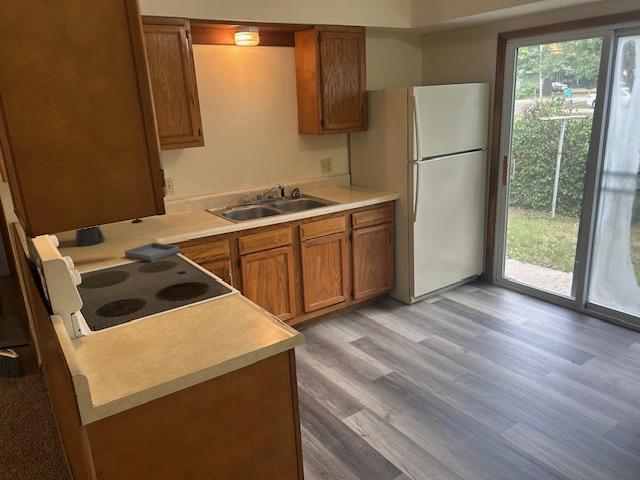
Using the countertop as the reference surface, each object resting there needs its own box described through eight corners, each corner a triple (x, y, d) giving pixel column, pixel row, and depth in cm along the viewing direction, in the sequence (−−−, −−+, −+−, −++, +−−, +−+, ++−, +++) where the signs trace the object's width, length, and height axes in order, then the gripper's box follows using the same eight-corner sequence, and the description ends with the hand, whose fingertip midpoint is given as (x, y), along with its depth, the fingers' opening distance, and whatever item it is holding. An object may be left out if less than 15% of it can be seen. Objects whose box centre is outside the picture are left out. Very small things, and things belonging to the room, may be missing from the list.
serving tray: (125, 256, 235) (124, 251, 235) (154, 247, 249) (153, 242, 248) (151, 262, 224) (150, 256, 224) (180, 252, 238) (179, 246, 237)
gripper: (101, 174, 227) (109, 219, 233) (149, 170, 226) (156, 216, 232) (108, 172, 235) (116, 216, 240) (155, 169, 233) (162, 213, 239)
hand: (136, 216), depth 236 cm, fingers closed on ice cream bowl, 11 cm apart
